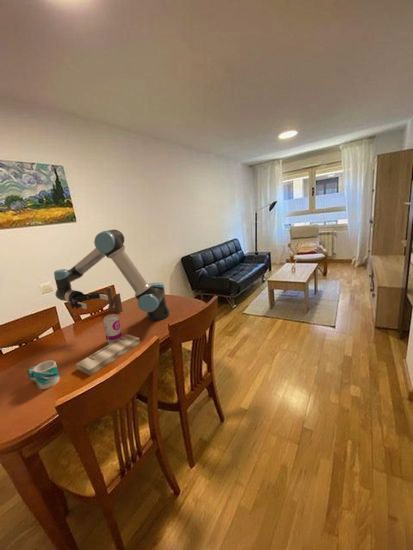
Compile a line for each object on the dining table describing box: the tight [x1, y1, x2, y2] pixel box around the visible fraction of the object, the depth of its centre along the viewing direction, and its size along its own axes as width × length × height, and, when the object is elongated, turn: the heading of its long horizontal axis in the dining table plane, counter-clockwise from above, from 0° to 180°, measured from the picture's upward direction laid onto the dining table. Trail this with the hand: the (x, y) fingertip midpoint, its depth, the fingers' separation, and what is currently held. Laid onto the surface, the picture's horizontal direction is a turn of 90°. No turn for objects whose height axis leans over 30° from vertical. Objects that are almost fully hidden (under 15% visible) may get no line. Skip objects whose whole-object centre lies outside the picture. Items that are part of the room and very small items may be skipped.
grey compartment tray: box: [75, 334, 141, 376], centre depth 122 cm, size 30×10×3 cm, turn 149°
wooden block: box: [105, 286, 124, 314], centre depth 175 cm, size 4×11×18 cm, turn 62°
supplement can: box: [102, 313, 123, 345], centre depth 133 cm, size 8×8×15 cm
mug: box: [26, 359, 61, 390], centre depth 104 cm, size 8×12×8 cm
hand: (97, 302), depth 134 cm, fingers open, 13 cm apart
